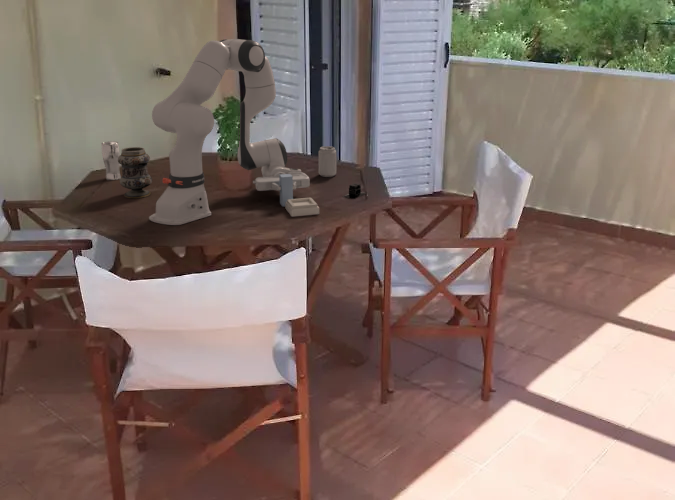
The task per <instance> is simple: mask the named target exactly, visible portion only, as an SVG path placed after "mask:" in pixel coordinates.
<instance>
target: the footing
mask: <svg viewBox="0 0 675 500" xmlns="http://www.w3.org/2000/svg"><path fill="white" fill-rule="evenodd" d="M284 207H285V209H286V211H287V213H289V215H290V217H302V216H312V215H320V207H319V206H318V203H317V202H316V201H315V200H314V199H313V198H312V197H303V198H301V197H300V198H293V199H287V202H285V206H284Z"/></svg>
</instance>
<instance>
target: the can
mask: <svg viewBox="0 0 675 500" xmlns="http://www.w3.org/2000/svg"><path fill="white" fill-rule="evenodd" d="M318 174H319V175H320V176H321V177H323V178H332V177H335V175H337V150H336V148H335V147H334V146H332V145H331V146H330V145H329V146H328V145H327V146H321V147H319V150H318Z"/></svg>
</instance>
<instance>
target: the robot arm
mask: <svg viewBox="0 0 675 500" xmlns="http://www.w3.org/2000/svg"><path fill="white" fill-rule="evenodd" d="M227 70H230V71H235V72H242V74H243V77H244V78H243V80H244V86H245V95H244V98H243V100H241V102H240V104H239V106H240V141H239V140H238V142H239V147H238V146H237V161H238V164H239V165H240V167H241V168H243V169H245V170H246V171H251V170H254V169H257V168H261V174H262V176H258V177H256V178H255V179H254V180H252V184H254V185H255V189H256V191H259V192H263V191H265V192H266V191H277V192H280V191H281V185H280V182H279V175H281V174H291V175H292V177H293V191H294V190H297V189H301V188H302V189H303V188H305V189H306V188H309V187H310V185H311V184H310V182H311V181H310V177H309V175H307V174H306V173H305V172H302V170H301V169H300V168H289V167H286V165H287V163H288V152H287V148H286V147H285V144H284V143H283V142H282V141H281V140H280V139H279V138H277V137H275V138H269V139H264V140H260V141H255V142H254V141H253V142H251V141H250V140H251V139H250V138H251V132H250V131H251V129H250V127H251V122H252V120H253V119H254V117H255V116H257V115H258V114H260V113H261V112H263V111H265V110H266V109H268V108H269V107H270V106H271V105H272V104H273V103H274V101H275V99H276V96H277V94H276V93H277V90H276V83H275V78H274V72H273V69H272V65H271V62H270V60H269V58H268V57H267V56H266V53H265V50H264V48H263V46H262V45H261V44H260V43H259V42H257V41H255V40H251V39H239V38H231V39H221V40H213V39H211V40H209V41H207V42H206V43H205V44H204V46H203V47H202V48H201V49H200V51H199V52H198V53H197V55H196V57H195V59H193V62H192V64H191V65H190V67H189V69H188V71H187V73H186V75H185V77H184V79H182V81H181V83H180V84H179V85H178V86H177V87H176V88H175V89H174V91H173V92H171V93H170V94H169V95H168V96H167V97H166V98H164V99H163V100H161V101H159V102H157V103H156V104H155V105H154V107H153V108H152V112H151V118H152V122H153V124H154V125H155V126H156V127H158V128H159V129H161V130H163V131H164V132H167V133H173V134H176V141H175V142H176V143H175V145H174V146H173V147H172V148H171V149H170V150H169V153H168V157H169V158H168V159H169V170H170V171H169V172H170V174H169V176H168V178H167V177H163V178H162V183H163V184H167V187H166V188H165V189H164V191H163V192H162V194H161V195H160V197H158V199H157V201H156V203H155V213H153V214H151V215H149V216H148V220H149V221H151V222H154V223H157V224H161V225H168V226H180V225H184V224H187V223H190V222H194V221H197V220H199V219H203V218H207V217H210V216H212V212H211V210H210V208H209V206H210V205H209V201H208V195H207V191H206V188H205V174H204V171H203V154H202V152H203V147H204V143H205V140H206V137H207V136H208V135H210V133H211V132H212V131H213V129H214V125H215V117H214V114H213V112H212V111H211V110H210V109H209V108H207V107H204V106H203V105H202V104H204V103H205V102H207V101H209V100H210V99H212V97H214V94H215V93H216V90H217V88H218V87H219V85H220V83H221V81H222V79H223V76H224V75H225V72H226V71H227Z"/></svg>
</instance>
